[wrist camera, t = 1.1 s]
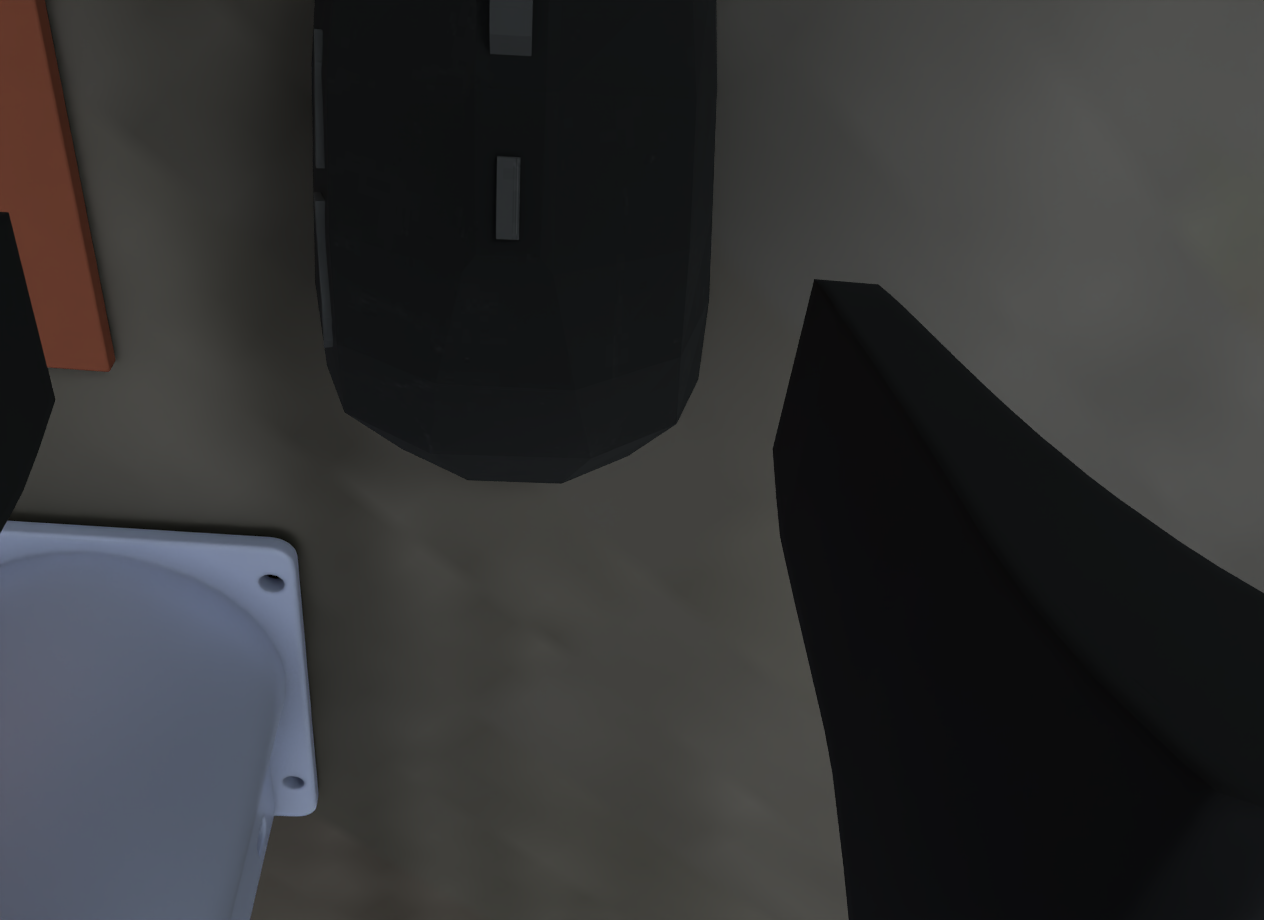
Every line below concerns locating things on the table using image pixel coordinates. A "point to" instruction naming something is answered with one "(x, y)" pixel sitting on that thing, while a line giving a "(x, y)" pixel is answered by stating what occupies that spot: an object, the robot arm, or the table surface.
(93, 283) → the mouse mat
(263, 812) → the robot arm
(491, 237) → the gaming mouse
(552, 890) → the table surface
